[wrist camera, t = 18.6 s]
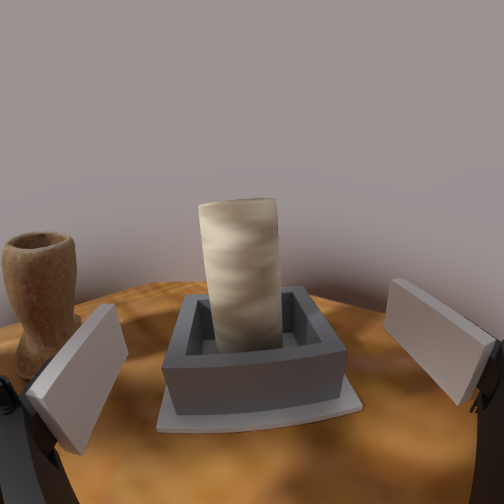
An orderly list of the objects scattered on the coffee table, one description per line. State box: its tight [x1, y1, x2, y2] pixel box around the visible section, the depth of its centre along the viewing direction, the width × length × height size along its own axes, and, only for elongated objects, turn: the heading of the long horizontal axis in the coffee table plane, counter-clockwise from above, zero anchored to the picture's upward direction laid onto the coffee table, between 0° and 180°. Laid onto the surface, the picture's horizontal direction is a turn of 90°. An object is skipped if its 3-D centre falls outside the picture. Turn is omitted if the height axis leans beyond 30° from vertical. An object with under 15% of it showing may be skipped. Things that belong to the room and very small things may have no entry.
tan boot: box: [2, 232, 81, 380], centre depth 24 cm, size 15×12×15 cm
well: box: [156, 286, 363, 433], centre depth 24 cm, size 16×16×6 cm
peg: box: [198, 198, 283, 354], centre depth 23 cm, size 6×6×15 cm
